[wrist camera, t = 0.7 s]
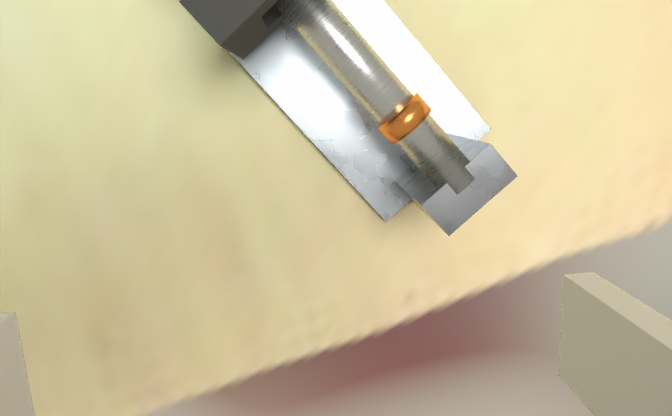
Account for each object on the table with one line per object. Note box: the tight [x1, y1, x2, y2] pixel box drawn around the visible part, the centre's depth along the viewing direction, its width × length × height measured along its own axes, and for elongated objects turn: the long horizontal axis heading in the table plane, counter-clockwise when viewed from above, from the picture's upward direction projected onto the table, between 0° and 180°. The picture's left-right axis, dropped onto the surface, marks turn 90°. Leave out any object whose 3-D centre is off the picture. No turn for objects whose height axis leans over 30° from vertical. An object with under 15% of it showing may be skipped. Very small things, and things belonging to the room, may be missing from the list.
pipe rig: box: [229, 0, 517, 236], centre depth 32 cm, size 23×10×10 cm, turn 42°
